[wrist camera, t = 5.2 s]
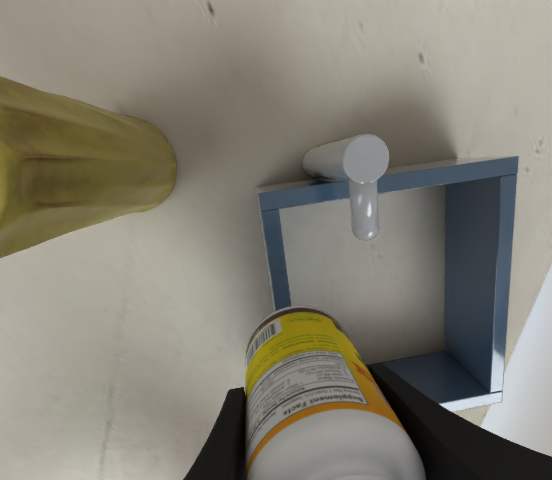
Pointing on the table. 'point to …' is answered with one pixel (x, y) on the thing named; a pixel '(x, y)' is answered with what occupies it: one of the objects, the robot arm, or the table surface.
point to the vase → (73, 166)
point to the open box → (458, 256)
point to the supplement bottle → (318, 406)
